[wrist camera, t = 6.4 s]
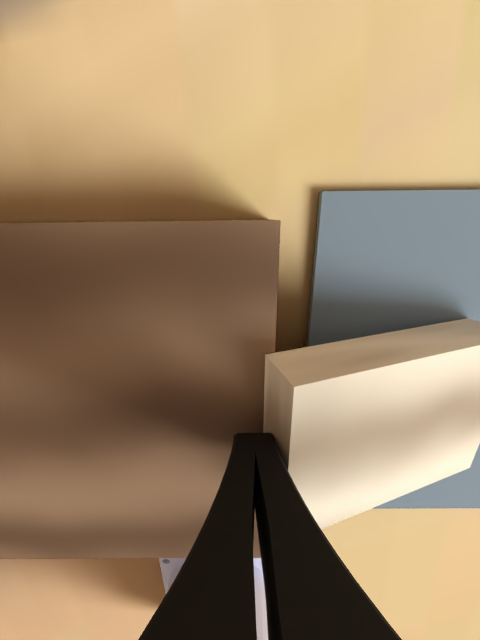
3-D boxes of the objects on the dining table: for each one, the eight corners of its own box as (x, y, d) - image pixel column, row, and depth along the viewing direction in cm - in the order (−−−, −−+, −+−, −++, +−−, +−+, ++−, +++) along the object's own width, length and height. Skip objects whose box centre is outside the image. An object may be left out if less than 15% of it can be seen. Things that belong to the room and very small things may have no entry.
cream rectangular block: (430, 437, 15) (469, 467, 13) (261, 496, 12) (282, 545, 10) (468, 318, 12) (523, 335, 10) (265, 354, 9) (293, 386, 7)
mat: (543, 501, 17) (550, 508, 17) (292, 502, 17) (293, 508, 17) (725, 187, 11) (743, 186, 10) (319, 191, 11) (322, 191, 10)
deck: (261, 491, 17) (266, 558, 14) (-24, 492, 17) (-87, 559, 14) (268, 219, 11) (280, 220, 8) (-164, 224, 11) (-331, 226, 8)
